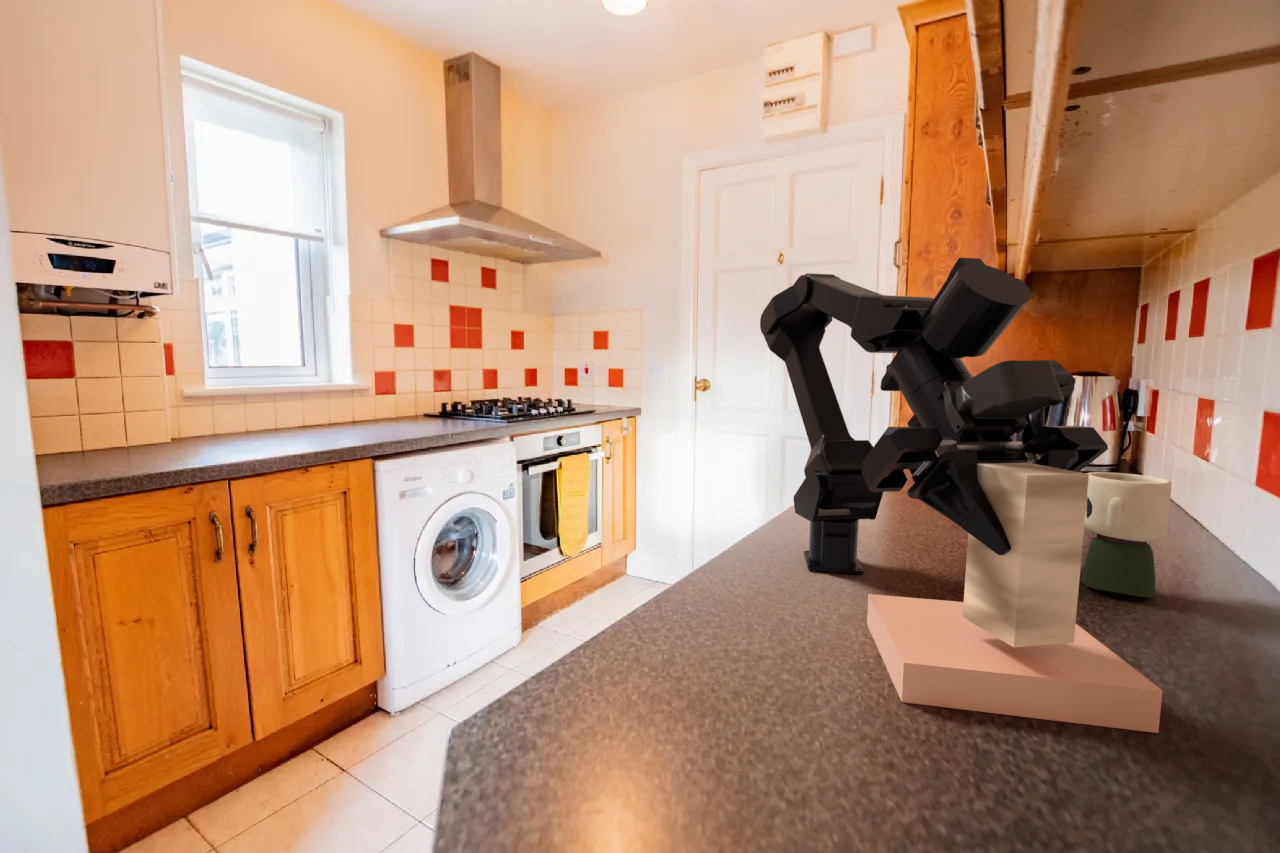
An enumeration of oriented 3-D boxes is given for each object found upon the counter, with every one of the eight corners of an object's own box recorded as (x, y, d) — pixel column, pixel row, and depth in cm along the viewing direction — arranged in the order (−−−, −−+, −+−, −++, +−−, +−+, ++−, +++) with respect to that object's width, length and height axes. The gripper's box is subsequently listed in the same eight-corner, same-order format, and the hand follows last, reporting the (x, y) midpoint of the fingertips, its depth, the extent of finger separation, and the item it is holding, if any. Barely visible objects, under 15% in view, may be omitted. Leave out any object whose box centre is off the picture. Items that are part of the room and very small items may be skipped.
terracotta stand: (866, 624, 53) (868, 593, 53) (1055, 642, 50) (1058, 610, 49) (901, 702, 40) (903, 662, 40) (1158, 733, 37) (1162, 690, 37)
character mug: (1089, 572, 68) (1098, 468, 67) (1168, 590, 62) (1180, 476, 61) (1063, 594, 61) (1072, 477, 60) (1149, 616, 56) (1162, 488, 54)
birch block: (962, 617, 45) (973, 463, 43) (1017, 613, 45) (1028, 462, 44) (1013, 647, 40) (1027, 475, 38) (1073, 642, 40) (1088, 474, 39)
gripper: (889, 323, 43) (991, 494, 33) (1095, 329, 46) (1245, 488, 36) (833, 416, 51) (901, 575, 41) (1010, 416, 54) (1112, 564, 44)
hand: (1037, 551), depth 41 cm, fingers closed on birch block, 5 cm apart
